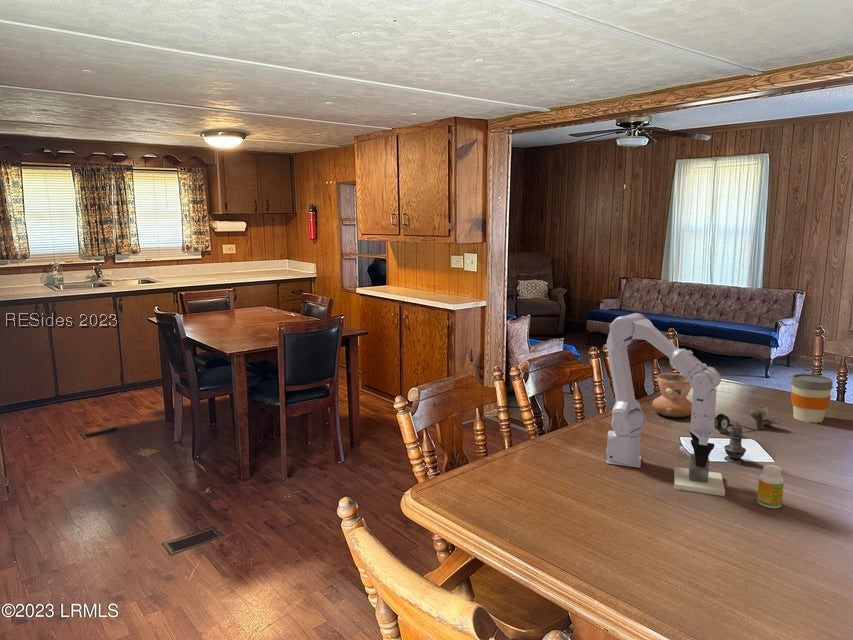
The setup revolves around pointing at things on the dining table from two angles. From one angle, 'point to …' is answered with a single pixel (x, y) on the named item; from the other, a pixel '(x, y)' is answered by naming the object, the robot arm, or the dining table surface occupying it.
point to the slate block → (698, 470)
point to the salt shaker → (735, 445)
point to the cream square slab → (712, 487)
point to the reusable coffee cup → (810, 396)
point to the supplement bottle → (770, 487)
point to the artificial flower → (760, 422)
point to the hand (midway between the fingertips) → (699, 461)
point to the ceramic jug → (673, 396)
